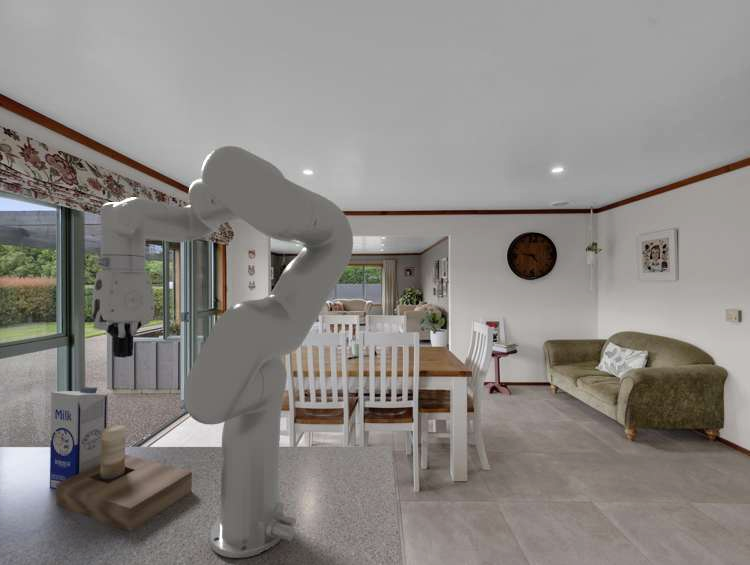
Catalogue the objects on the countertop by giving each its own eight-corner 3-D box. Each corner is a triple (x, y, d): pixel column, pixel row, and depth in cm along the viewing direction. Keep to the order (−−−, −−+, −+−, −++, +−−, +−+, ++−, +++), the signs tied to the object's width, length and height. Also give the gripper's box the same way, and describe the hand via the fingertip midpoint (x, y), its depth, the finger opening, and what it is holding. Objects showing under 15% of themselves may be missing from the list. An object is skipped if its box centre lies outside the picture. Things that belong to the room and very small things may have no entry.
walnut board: (191, 491, 75) (191, 472, 75) (129, 531, 63) (130, 508, 63) (123, 471, 82) (123, 454, 82) (55, 504, 70) (56, 483, 70)
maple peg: (129, 485, 75) (130, 427, 75) (108, 496, 71) (110, 434, 71) (115, 481, 77) (116, 423, 77) (94, 491, 73) (95, 431, 73)
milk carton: (48, 488, 76) (50, 391, 75) (82, 471, 82) (83, 382, 82) (75, 493, 74) (77, 394, 74) (107, 476, 80) (108, 385, 80)
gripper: (97, 263, 66) (97, 365, 66) (169, 266, 80) (169, 351, 80) (69, 264, 68) (69, 362, 68) (144, 267, 82) (144, 349, 82)
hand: (123, 356), depth 74 cm, fingers closed
